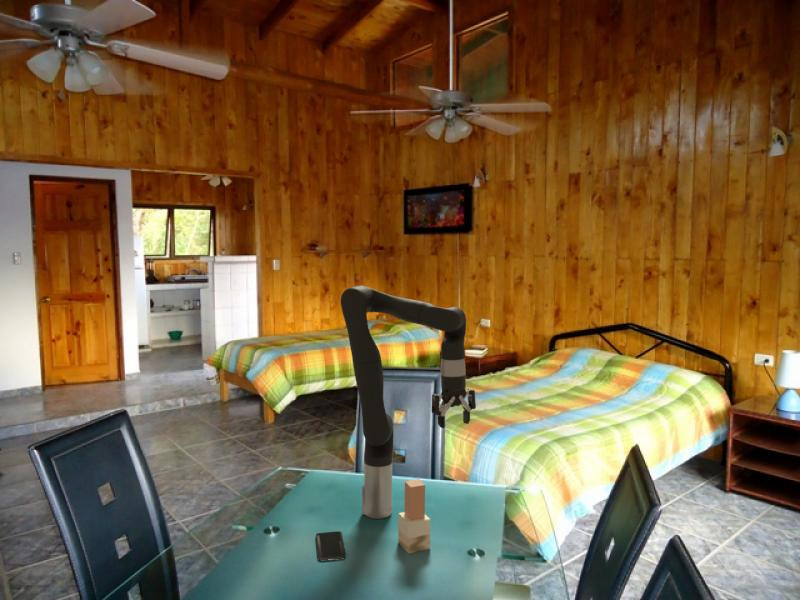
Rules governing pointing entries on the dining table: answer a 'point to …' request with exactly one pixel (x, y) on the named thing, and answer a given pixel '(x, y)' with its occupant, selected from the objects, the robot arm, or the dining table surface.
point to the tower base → (413, 542)
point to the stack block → (414, 499)
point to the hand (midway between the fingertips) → (454, 425)
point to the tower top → (414, 526)
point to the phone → (330, 545)
